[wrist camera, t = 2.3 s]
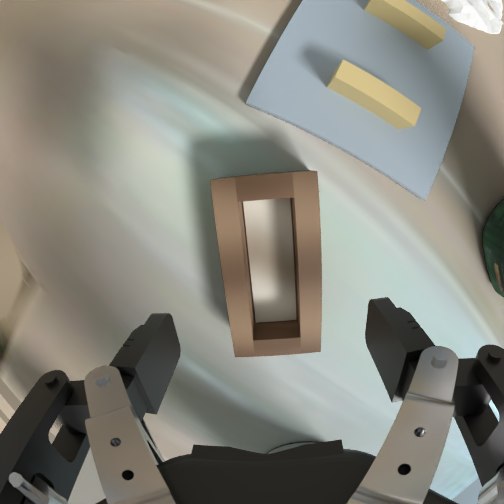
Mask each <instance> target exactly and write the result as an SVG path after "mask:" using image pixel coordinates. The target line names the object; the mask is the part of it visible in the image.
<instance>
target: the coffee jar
mask: <svg viewBox="0 0 504 504" xmlns="http://www.w3.org/2000/svg"><path fill="white" fill-rule="evenodd" d="M483 248H484V254H485V259H486V264H487V269H488V273H489V276H490V279H491V282H492V285H493V287H494V289H495V291H496V292H497V293H498V294H499V295H501V296H502V297H504V199H503V200H502V201H501V202H500V203H499V204H498V205H497V206H496V207H495V208H494V209H493V211H492V213H491V214H490V216H489V218H488V220H487V222H486V225H485V228H484V231H483Z"/></svg>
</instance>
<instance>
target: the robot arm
mask: <svg viewBox="0 0 504 504" xmlns="http://www.w3.org/2000/svg"><path fill="white" fill-rule="evenodd" d="M365 338H366V344H367V347H368V349H369V352H370V354H371V356H372V358H373V360H374V363H375V365H376V367H377V369H378V371H379V374H380V376H381V378H382V380H383V383H384V385H385V387H386V390H387V392H388V394H389V397H390V399H391V402H397V401H401V400H403V403H402V405H401V408H400V410H399V412H398V414H397V417H396V419H395V421H394V423H393V425H392V427H391V429H390V432H389V434H388V436H387V438H386V440H385V442H384V443H383V445H382V447H381V449H380V451H379V453H378V455H377V457H375V456H373V455H371V454H368V453H365V452H361V451H357V450H350V449H343V445H342V440H335V441H328V442H321V443H306V442H305V443H295V444H289V445H285V446H282V447H279V448H276V449H274V450H272V451H270V452H269V453H268V454H260V453H255V452H250V451H245V450H240V449H236V448H232V447H222V446H205V445H193V449H192V453H191V454H187V455H182V456H178V457H175V458H172V459H169V460H167V461H165V460H164V458H163V457H162V455H161V453H160V451H159V449H158V447H157V445H156V443H155V441H154V439H153V437H152V435H151V433H150V431H149V429H148V427H147V425H146V423H145V421H144V419H143V417H144V415H145V413H151V414H157V412H158V409H159V407H160V404H161V402H162V399H163V397H164V394H165V392H166V389H167V387H168V384H169V382H170V380H171V377H172V375H173V372H174V370H175V367H176V365H177V363H178V360H179V357H180V344H179V340H178V337H177V333H176V329H175V326H174V322H173V318H172V316H171V314H169V313H155V314H151V316H150V317H149V318H148V320H147V321H146V323H145V324H144V325H141V326H139V327H138V328H137V329H135V330H134V331H133V332H132V333H131V334H130V336H129V337H128V339H127V340H126V342H125V343H124V344H123V347H121V349H120V350H119V352H118V353H117V354H116V356H115V357H114V359H113V360H112V362H111V363H110V365H109V366H101V367H98V368H95V369H93V370H92V371H91V372H89V373H88V374H87V376H86V377H85V380H80V381H69V379H68V377H67V375H66V374H65V373H64V372H63V371H60V370H54V371H50V372H48V373H46V374H44V375H43V376H42V377H41V378H40V379H39V380H38V382H37V383H36V384H35V386H34V387H33V388H32V390H31V391H30V392H29V394H28V395H27V396H26V398H25V399H24V401H23V402H22V403H21V405H20V406H19V407H18V409H17V410H16V412H15V413H14V415H13V416H12V418H11V419H10V420H9V422H8V423H7V425H6V426H5V428H4V429H3V431H2V432H1V434H0V504H68V500H69V497H70V495H71V492H72V490H73V487H74V485H75V482H76V480H77V477H78V475H79V472H80V470H81V468H82V465H83V463H84V460H85V458H86V456H87V453H88V451H89V449H90V447H91V451H92V455H93V459H94V463H95V466H96V470H97V473H98V476H99V479H100V483H101V486H102V489H103V492H104V494H105V497H106V498H105V499H103V500H101V501H100V502H98V503H96V504H457V503H456V502H454V501H452V500H450V499H448V498H446V497H444V496H442V495H440V494H438V493H437V492H435V491H433V490H431V489H429V488H430V485H431V483H432V480H433V478H434V475H435V472H436V470H437V467H438V464H439V461H440V458H441V455H442V452H443V449H444V446H445V442H446V439H447V435H448V432H449V428H450V424H451V420H452V417H454V418H455V420H456V422H457V425H458V427H459V429H460V431H461V433H462V436H463V438H464V440H465V443H466V445H467V448H468V450H469V452H470V455H471V457H472V460H473V463H474V465H475V468H476V471H477V473H478V476H479V479H480V482H481V485H482V489H481V490H480V493H479V496H478V503H477V504H504V349H503V348H501V347H499V346H496V345H485V346H483V347H481V348H480V349H479V351H478V353H477V356H476V358H467V359H458V357H457V355H456V354H455V353H454V352H453V351H452V350H450V349H448V348H446V347H442V346H435V345H434V343H433V342H432V341H431V339H430V338H429V337H428V335H427V334H426V333H425V332H424V330H423V329H422V328H420V325H419V324H418V323H417V322H416V320H415V319H414V318H413V316H412V315H411V314H410V313H409V312H407V311H406V310H404V309H402V308H401V307H400V308H396V307H395V305H394V304H393V303H392V301H391V300H390V299H389V298H388V297H386V298H378V299H371V300H370V301H369V304H368V314H367V323H366V332H365ZM491 399H492V401H493V403H494V404H495V406H496V408H497V410H498V412H499V416H500V419H499V422H498V420H497V418H496V416H495V415H494V413H493V411H492V409H491V408H490V406H489V402H490V400H491ZM56 418H58V419H59V420H60V422H61V423H62V424H63V425H62V427H61V429H60V430H59V432H58V434H57V436H56V438H55V440H54V441H53V443H52V444H51V443H50V441H49V438H48V434H49V430H50V428H51V427H52V425H53V423H54V422H55V420H56Z"/></svg>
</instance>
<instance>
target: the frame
mask: <svg viewBox="0 0 504 504" xmlns="http://www.w3.org/2000/svg"><path fill="white" fill-rule="evenodd" d="M210 182H211V191H212V199H213V208H214V216H215V224H216V232H217V239H218V247H219V254H220V262H221V269H222V276H223V283H224V290H225V296H226V303H227V310H228V316H229V322H230V329H231V335H232V341H233V347H234V353H235V357H254V356H274V355H289V354H301V353H312V352H321V318H322V263H321V228H320V206H319V190H318V175H317V171H310V170H309V171H292V172H278V173H265V174H254V175H243V176H234V177H225V178H218V179H214V180H210Z"/></svg>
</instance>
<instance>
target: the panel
mask: <svg viewBox="0 0 504 504" xmlns="http://www.w3.org/2000/svg"><path fill="white" fill-rule="evenodd" d="M473 53H474V46H473V45H472V44H471V43H470V42H469V41H468V40H467V39H465V38H464V37H463V36H462V35H461V34H460V33H458V32H457V31H456V30H455V29H454V28H452V27H451V26H450V25H449V24H447V23H446V22H445V21H443V20H442V19H441V18H439V17H438V16H437V15H435V14H434V13H433V12H431V11H430V10H428V9H427V8H426V7H424V6H423V5H421V4H420V3H418V2H417V1H415V0H302V2H301V4H300V5H299V7H298V8H297V10H296V12H295V13H294V15H293V17H292V18H291V20H290V22H289V23H288V25H287V27H286V29H285V30H284V32H283V34H282V35H281V37H280V39H279V41H278V43H277V44H276V46H275V48H274V50H273V51H272V53H271V55H270V57H269V59H268V61H267V62H266V64H265V66H264V68H263V70H262V72H261V74H260V76H259V78H258V79H257V81H256V83H255V85H254V87H253V89H252V91H251V93H250V95H249V97H248V99H247V101H246V105H248V106H250V107H253V108H255V109H258V110H260V111H262V112H265V113H267V114H269V115H272V116H274V117H276V118H279V119H281V120H283V121H285V122H287V123H290V124H292V125H294V126H296V127H298V128H300V129H302V130H304V131H306V132H308V133H310V134H312V135H314V136H316V137H318V138H320V139H322V140H324V141H326V142H328V143H330V144H332V145H334V146H335V147H337V148H339V149H341V150H343V151H345V152H346V153H348V154H350V155H352V156H353V157H355V158H357V159H359V160H360V161H362V162H364V163H365V164H367V165H369V166H370V167H372V168H374V169H375V170H377V171H379V172H380V173H382V174H383V175H385V176H387V177H388V178H390V179H391V180H393V181H394V182H396V183H397V184H399V185H400V186H402V187H403V188H405V189H406V190H408V191H409V192H411V193H412V194H414V195H415V196H417V197H418V198H419V199H422V200H426V198H427V196H428V193H429V191H430V189H431V186H432V184H433V182H434V179H435V177H436V175H437V172H438V170H439V167H440V165H441V162H442V160H443V157H444V154H445V152H446V149H447V146H448V143H449V141H450V138H451V135H452V132H453V129H454V126H455V123H456V120H457V117H458V113H459V110H460V107H461V103H462V100H463V96H464V92H465V88H466V85H467V81H468V76H469V72H470V67H471V63H472V58H473Z"/></svg>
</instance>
